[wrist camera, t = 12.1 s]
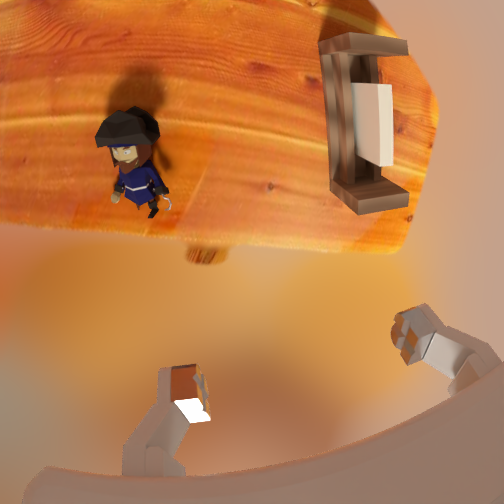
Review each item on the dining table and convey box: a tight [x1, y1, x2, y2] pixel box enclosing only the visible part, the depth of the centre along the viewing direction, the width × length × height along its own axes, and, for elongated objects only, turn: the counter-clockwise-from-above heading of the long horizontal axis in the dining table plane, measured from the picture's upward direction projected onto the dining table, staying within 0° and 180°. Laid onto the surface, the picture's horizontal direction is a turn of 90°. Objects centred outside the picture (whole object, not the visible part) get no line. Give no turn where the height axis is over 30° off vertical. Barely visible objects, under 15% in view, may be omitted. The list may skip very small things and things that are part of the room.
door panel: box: [351, 83, 393, 167], centre depth 32 cm, size 10×2×8 cm, turn 7°
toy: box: [95, 106, 172, 218], centre depth 33 cm, size 9×6×15 cm
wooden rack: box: [318, 32, 409, 215], centre depth 32 cm, size 22×8×9 cm, turn 7°
